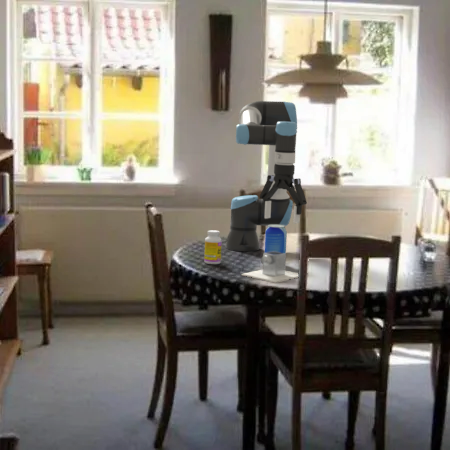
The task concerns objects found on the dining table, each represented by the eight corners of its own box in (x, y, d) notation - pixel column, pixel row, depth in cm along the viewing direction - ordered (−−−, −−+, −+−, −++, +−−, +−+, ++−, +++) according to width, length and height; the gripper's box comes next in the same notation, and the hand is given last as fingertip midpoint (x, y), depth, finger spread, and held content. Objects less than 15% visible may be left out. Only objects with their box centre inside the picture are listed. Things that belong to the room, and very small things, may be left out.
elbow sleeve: (272, 271, 300) (273, 251, 298) (284, 274, 296) (286, 253, 294) (257, 274, 293) (258, 253, 292) (270, 277, 289) (271, 256, 288)
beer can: (261, 266, 313) (263, 225, 310) (267, 262, 321) (269, 223, 318) (281, 268, 310) (283, 227, 308) (287, 264, 318) (289, 225, 315)
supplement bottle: (218, 265, 311) (220, 232, 309) (202, 263, 312) (203, 231, 311) (222, 262, 318) (223, 230, 316) (206, 260, 319) (207, 229, 317)
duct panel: (271, 269, 307) (271, 255, 306) (305, 276, 297) (305, 261, 296) (241, 275, 294) (242, 260, 293) (275, 282, 283) (276, 267, 283)
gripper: (252, 161, 297) (249, 217, 301) (306, 167, 281) (302, 226, 285) (264, 160, 303) (262, 215, 306) (318, 166, 287) (314, 224, 290)
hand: (281, 220), depth 296 cm, fingers open, 13 cm apart
